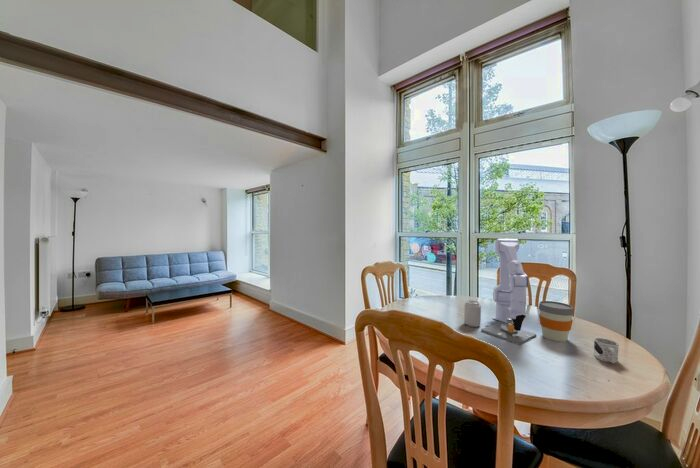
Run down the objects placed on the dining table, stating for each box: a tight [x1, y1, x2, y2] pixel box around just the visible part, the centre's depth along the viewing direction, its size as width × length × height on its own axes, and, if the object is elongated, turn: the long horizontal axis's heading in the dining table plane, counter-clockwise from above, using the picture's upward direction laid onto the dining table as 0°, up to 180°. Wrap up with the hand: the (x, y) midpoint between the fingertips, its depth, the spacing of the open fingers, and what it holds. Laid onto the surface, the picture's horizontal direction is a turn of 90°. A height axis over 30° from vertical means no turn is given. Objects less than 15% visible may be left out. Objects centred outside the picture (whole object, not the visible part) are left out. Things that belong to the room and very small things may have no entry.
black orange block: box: [501, 318, 518, 333], centre depth 123 cm, size 11×7×5 cm, turn 155°
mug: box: [593, 337, 619, 364], centre depth 99 cm, size 10×7×7 cm
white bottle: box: [463, 300, 482, 328], centre depth 134 cm, size 8×8×12 cm
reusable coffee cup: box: [538, 300, 574, 343], centre depth 119 cm, size 13×12×15 cm
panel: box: [480, 321, 537, 346], centre depth 123 cm, size 16×17×1 cm
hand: (517, 330), depth 120 cm, fingers closed, pressing on black orange block
